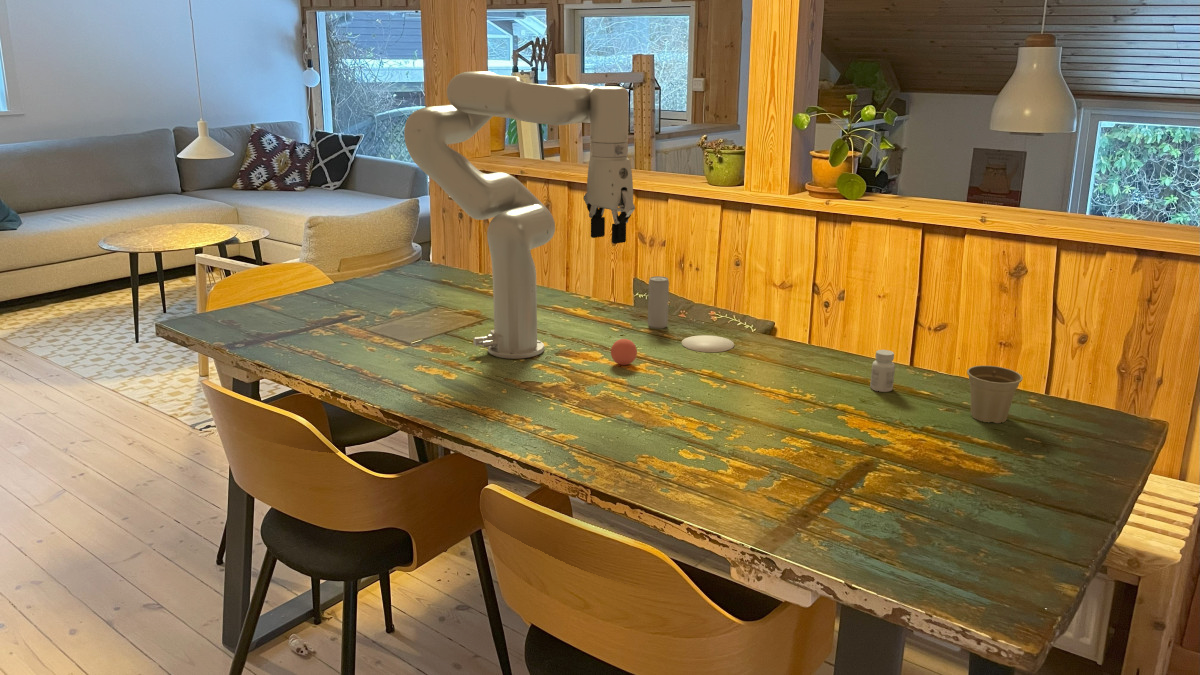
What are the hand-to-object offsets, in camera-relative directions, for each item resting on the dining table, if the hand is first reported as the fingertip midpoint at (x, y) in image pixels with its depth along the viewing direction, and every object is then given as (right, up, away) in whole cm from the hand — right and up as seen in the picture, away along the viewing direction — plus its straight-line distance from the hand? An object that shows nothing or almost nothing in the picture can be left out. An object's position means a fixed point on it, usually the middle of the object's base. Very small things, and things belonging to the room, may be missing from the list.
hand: (608, 239), depth 189 cm
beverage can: (+12, -18, +37) cm, 43 cm away
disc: (+23, -22, +24) cm, 40 cm away
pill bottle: (+55, -31, -3) cm, 63 cm away
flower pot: (+71, -35, -17) cm, 81 cm away
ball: (+3, -23, +9) cm, 25 cm away
